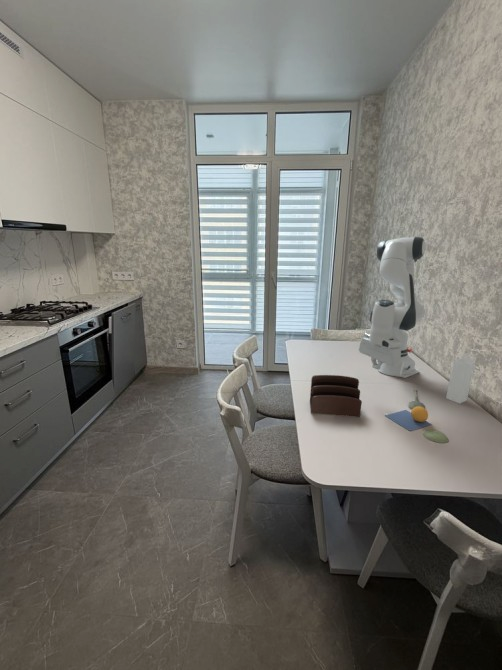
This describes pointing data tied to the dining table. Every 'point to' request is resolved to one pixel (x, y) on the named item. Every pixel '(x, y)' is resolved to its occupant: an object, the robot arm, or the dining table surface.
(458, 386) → the milk
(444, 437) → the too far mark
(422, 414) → the ball
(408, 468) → the dining table surface
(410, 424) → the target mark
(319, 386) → the letter holder
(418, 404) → the soupspoon
